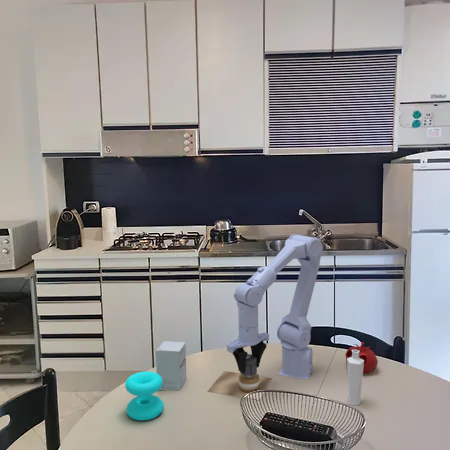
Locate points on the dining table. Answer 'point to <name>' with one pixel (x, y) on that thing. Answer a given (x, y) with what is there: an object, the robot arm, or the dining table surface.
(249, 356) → the cap
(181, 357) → the supplement box
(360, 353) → the pomegranate
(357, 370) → the perfume bottle
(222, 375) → the board
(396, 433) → the dining table surface
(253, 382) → the jar
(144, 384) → the donuts
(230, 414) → the dining table surface
